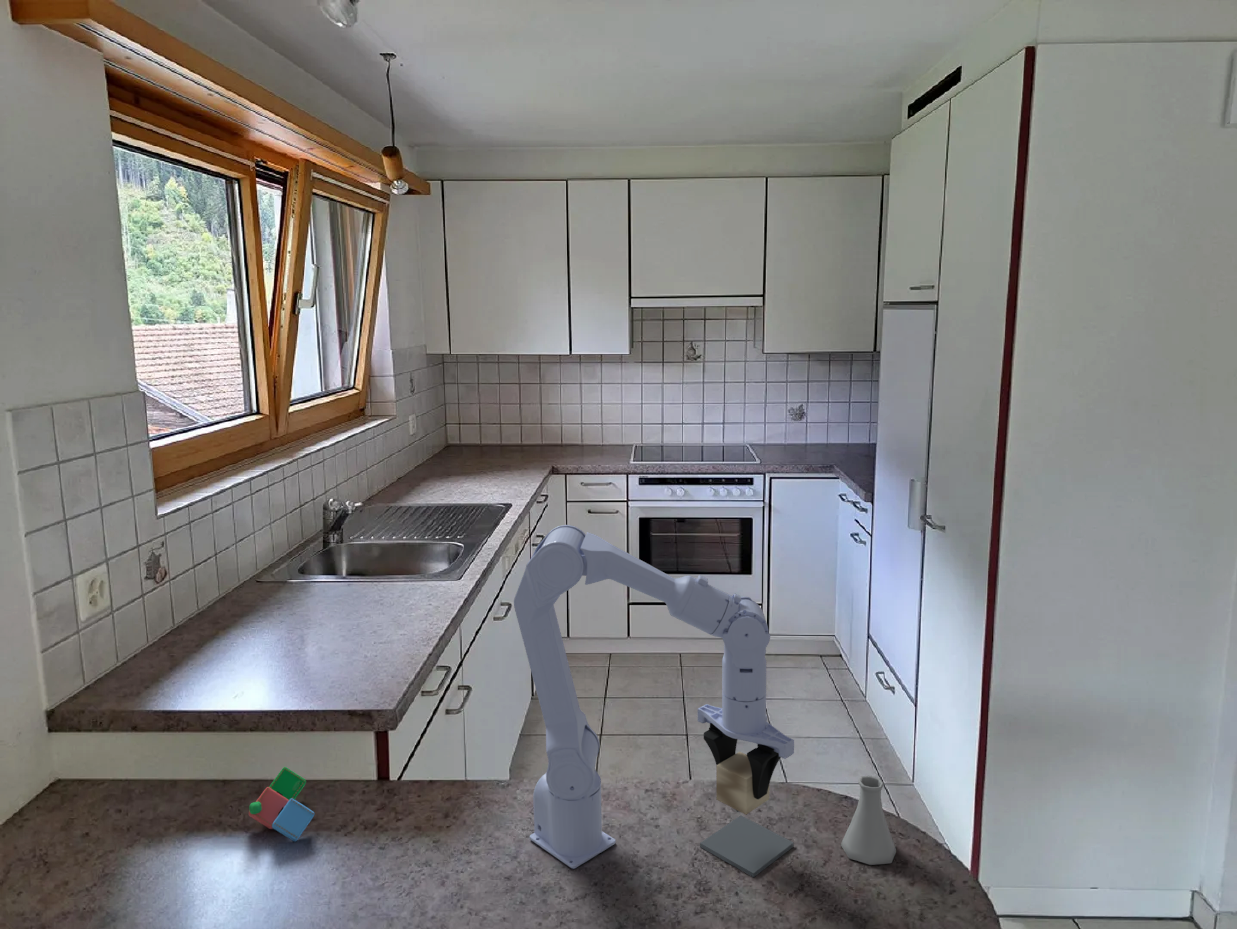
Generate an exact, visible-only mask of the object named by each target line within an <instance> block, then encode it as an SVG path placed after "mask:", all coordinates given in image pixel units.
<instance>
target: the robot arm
mask: <svg viewBox="0 0 1237 929" xmlns="http://www.w3.org/2000/svg"><path fill="white" fill-rule="evenodd" d="M524 569H525V570H524V572H523V575H522V578H521V580H520V583H519V585H518V588H517V591H516V594H515V596H514V599H513V607H514V612H515V616H516V619H517V623H518V626H519V630H520V634H521V638H522V641H523V645H524V650H525V652H526V656H527V660H528V664H529V669H530V672H531V675H532V676H531V677H532V680H533V684H534V687H535V690H536V694H537V699H538V702H539V706H540V710H541V713H542V718H543V721H544V725H545V751H546V756H547V760H548V764H547V768H546V772H545V773H544V774H543V775H541V777H540V778H539V779H538V781H537V783H536V784H535V787H534V790H533V795H532V800H533V801H532V802H533V803H532V804H533V827H534V832H533V833H531V834H530V835H529V840H530V841H531V842H533V843H535V844H536V845H538V846H539V847H540V848H542V849H543V850H545V851H546V852H547V853H549V854H550V855H552V856H553V857H555V859H558V860H559V861H560V862H561V863H563V864H565V865H566V866H567V867H569V868H571V869H577V868H578V867H579V866H581V865H583V864H584V863H586V862H588V861H589V860H591V859H593V858H595V857H596V856H598V855H599V854H600V853H602V852H604V851H605V850H607V849H609V848H610V847H612V846H613V845H615V844H616V838H614V837H612V836H610V835H609V834H608V833H605V832H604V831H603V823H602V822H603V821H602V820H603V817H602V816H603V815H602V813H603V812H602V784H601V783H602V780H601V775H599V773H598V771H597V770H596V765H597V764H596V763H597V757H598V754H599V752H600V739H599V736H598V735H597V733H596V731H595V730H593V729H592V727H591V726H590V725H589V722H588V720H587V715H586V713H585V712H584V711H583V710H581V708H580V704H579V699H578V695H577V691H576V688H575V683H574V680H573V676H572V671H571V668H570V665H569V660H568V657H567V652H566V649H565V645H564V640H563V638H562V632H561V629H560V625H559V621H558V618H557V617H558V616H557V613H556V609H555V606H554V605H555V604H556V602H557V601H558V599H559V598H560V597H561V595H563V594H564V593H565V592H567V591H569V590H571V589H572V588H574V586H576V585H578V583H579V582H580V581H581V578H582V577H583V576H584V577H585V576H586V577H585V583H584V585H586V586H587V585H592V584H595V583H598V582H599V583H600V582H601V581H606V580H611V581H614V582H617V583H618V584H621V585H624V586H626V587H628V588H630V589H633V590H635V591H638V592H640V593H642V594H645V595H647V596H649V597H651V598H654V599H657V600H659V601H662V603H663V602H664V603H665V604H666V607H667V610H668V613H669V615H670V616H671V617H672V618H676V619H678V620H679V621H682V622H683V623H686V624H688V625H690V626H692V627H694V628H695V629H698V630H699V631H703V632H705V633H706V634H708V635H710V636H713V637H715V638H716V637H717V638H721V639H722V641H723V657H722V658H721V666H722V668H721V672H722V673H721V679H722V680H721V707H718V706H714V705H711V704H708V703H706V704H704V705H702V706H700V707H698V708H697V722H698V723H701V724H705V723H707V724H709V728H708V730H706V731H705V732H703V741H705V743H706V744H707V746H708V748H709V750H710V752H711V754H712V756H713V759H714V763H715V765H718V764H720V763H721V762H723V761H725V760H726V759H728V758H730V757H731V756H733V755H735V754H736V751H737V744H738V740H739V741H744V742H748V743H752V744H753V743H754V744H756V745H757V747H755V748H753V749H751V750H750V751H748V752H746V755H747V757H748V760H749V763H750V766H751V771H752V784H753V795H754V798H756V799H760V798H761V797H763V796H764V795H766V794H767V791H768V787H769V788H770V784H771V780H772V776H773V774H774V771H775V769H776V767H777V765H778V763H779V762H780V759H784V760H787V758H789V757H791V756H792V755H794V753H795V739H793V738H791V737H789V736H787V735H785V734H784V733H783V732H781V731H780V730H779V729H777V728H776V727H775V726H774V725H772V724H771V723H769V722H768V715H767V658H766V653H767V647H768V645H769V643H770V640H771V634H770V632H769V631H770V630H769V627H768V626H769V625H768V623H767V619H766V616H765V613H764V611H763V609H762V607H761V606H760V605H759V604H758V603H757V602H756V601H754V600H753V599H752V598H751V597H749V596H744V595H743V596H741V595H739V594H737V593H733V594H732V595H731V594H729V593H727V592H726V591H723V590H721V589H719V588H717V587H715V586H713V585H711V584H709V580H708V578H707V577H705V576H703V575H701V574H699V575H698V576H697V577H694V576H692V575H684V576H681V577H677V578H676V577H675V578H674V577H673V576H672V575H669V574H668V573H665V572H663V571H662V570H660V569H658V568H656V567H654V566H653V565H651V564H649V563H647V562H645V561H643V560H641V559H640V558H637V557H636V556H634V555H633V554H630V553H628V552H627V551H625V550H623V549H621V548H619V547H617V546H616V545H614V544H612V543H610V542H609V541H607V540H606V539H604V538H602V537H601V536H599V535H597V534H596V533H591V532H588V531H587V532H586V533H585V532H584V531H583V530H582V529H580V528H579V527H577V526H574V525H571V524H570V525H569V524H562V525H558V526H556V527H554V528H552V529H551V530H550V531H549V532H548V533H547V534H546V535H545V537H544V538H543V539H542V540H541V541H540V542H539V543H538V544H537V547H536V548H535V549H534V552H533V553H532V555H531V557H530V559H529V560H528V562H527V564H526V565H525V568H524Z"/></svg>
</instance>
